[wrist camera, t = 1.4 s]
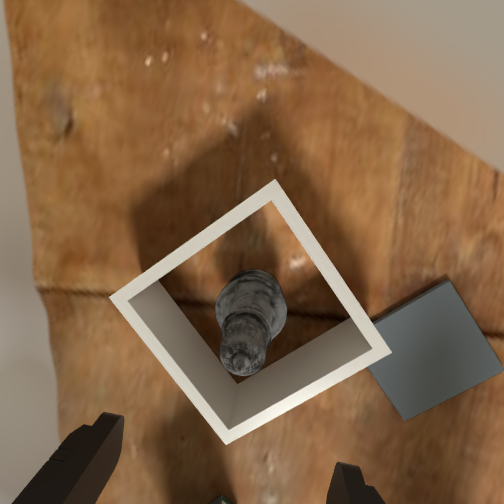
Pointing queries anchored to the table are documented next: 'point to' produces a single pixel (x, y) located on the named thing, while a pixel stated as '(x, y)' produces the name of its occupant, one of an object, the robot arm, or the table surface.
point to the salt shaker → (249, 320)
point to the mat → (431, 351)
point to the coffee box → (220, 501)
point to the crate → (273, 376)
